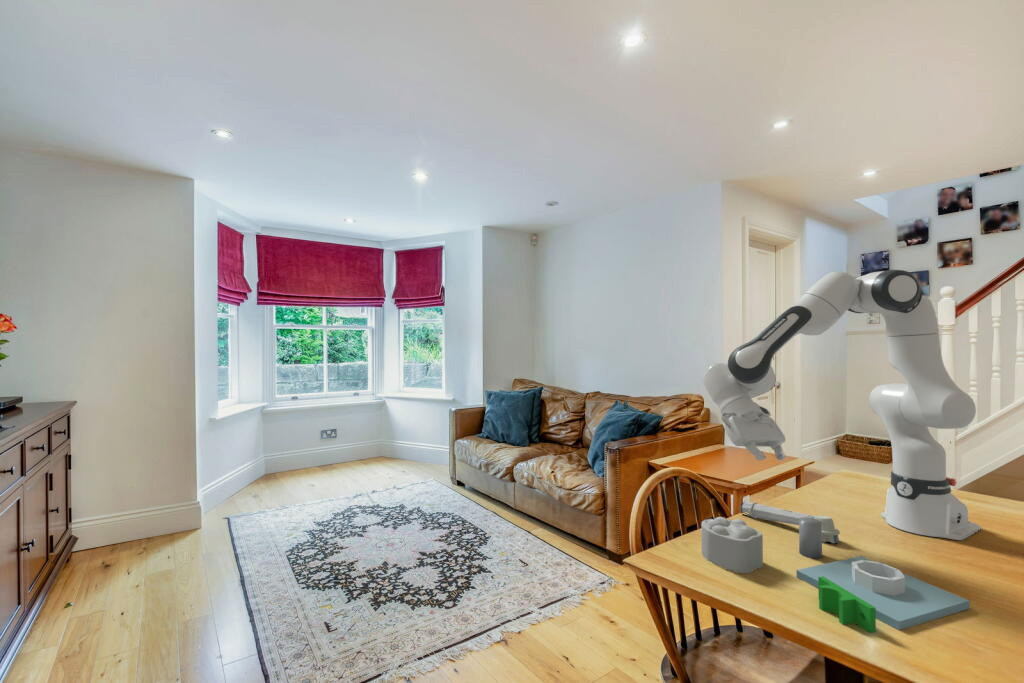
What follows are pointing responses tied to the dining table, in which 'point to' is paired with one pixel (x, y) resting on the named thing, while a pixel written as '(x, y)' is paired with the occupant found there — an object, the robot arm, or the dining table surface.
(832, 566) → the duct base
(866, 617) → the pipe clamp
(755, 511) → the angled head handheld tool
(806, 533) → the gray domed peg
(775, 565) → the dining table surface
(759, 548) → the lumpy-topped squat cylinder
